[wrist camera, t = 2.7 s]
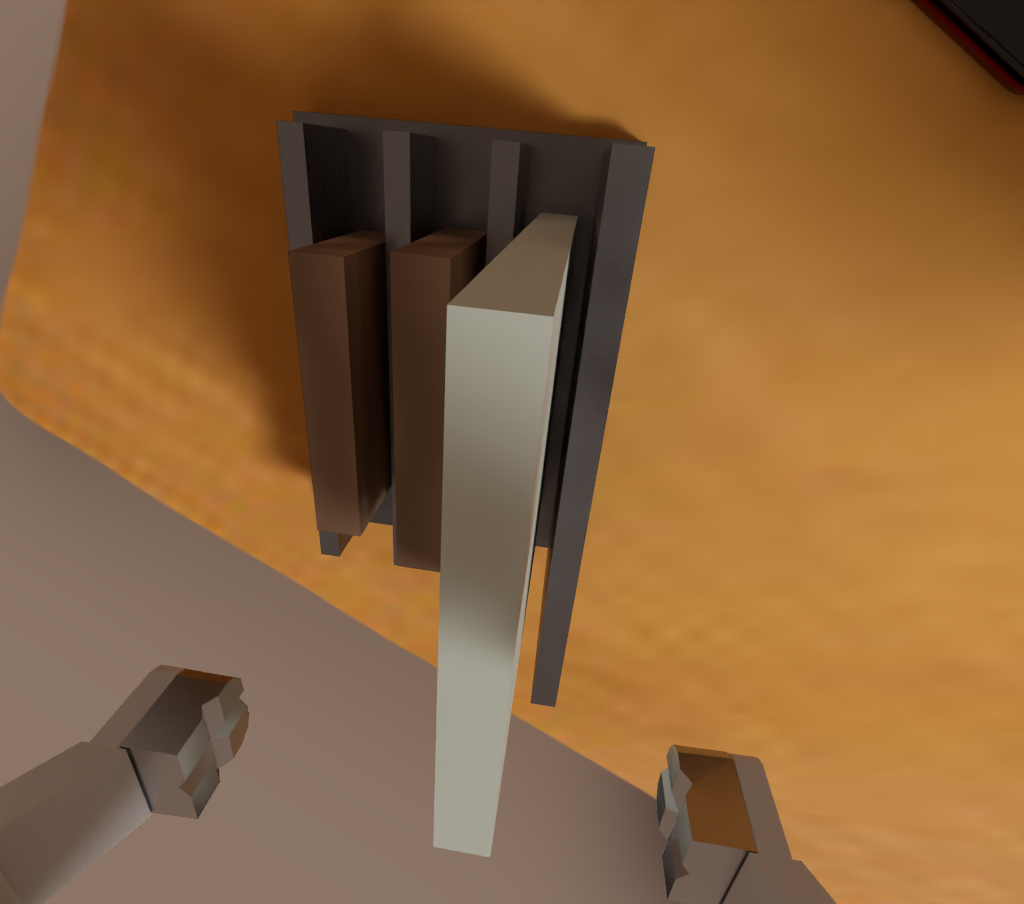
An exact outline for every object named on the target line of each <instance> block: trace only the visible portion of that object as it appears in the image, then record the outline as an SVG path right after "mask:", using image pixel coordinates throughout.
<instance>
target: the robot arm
mask: <svg viewBox="0 0 1024 904" xmlns="http://www.w3.org/2000/svg"><path fill="white" fill-rule="evenodd" d="M243 691H244V689H243V685H242V682H241V678H236V677H231V676H224V675H219V674H213V673H207V672H202V671H196V670H190V669H186V668H179V667H173V666H166V665H160V666H158V667H157V668H155V669H154V670H152V671H151V672H150V673H149V674H148V675H147V676H146V677H145V679H144V680H143V681H142V682H141V683H140V684H139V686H138V687H137V688H136V689H135V690H134V691H133V692H132V694H131V695H130V696H129V697H128V698H127V699H126V701H125V702H124V703H123V704H122V705H121V706H120V708H119V709H118V710H117V711H116V712H115V713H114V715H113V716H112V717H111V718H110V719H109V720H108V721H107V723H106V724H105V725H104V726H103V727H102V729H101V730H100V731H99V732H98V733H97V734H96V736H95V737H94V738H93V739H92V740H91V741H90V742H89V743H88V742H80V743H78V744H76V745H75V746H73V747H71V748H69V749H67V750H66V751H64V752H62V753H60V754H59V755H57V756H55V757H53V758H51V759H50V760H48V761H46V762H45V763H43V764H41V765H39V766H37V767H36V768H34V769H32V770H30V771H28V772H27V773H25V774H23V775H21V776H20V777H18V778H16V779H14V780H13V781H11V782H9V783H7V784H5V785H4V786H2V787H0V904H43V903H45V902H46V901H47V900H48V899H49V898H51V897H52V896H53V895H54V894H56V893H57V892H58V891H59V890H61V889H62V888H63V887H64V886H65V885H67V884H68V883H69V882H70V881H72V880H73V879H74V878H75V877H77V876H78V875H79V874H80V873H81V872H83V871H84V870H85V869H86V868H88V867H89V866H90V865H91V864H92V863H94V862H95V861H96V860H97V859H99V858H100V857H101V856H102V855H104V854H105V853H106V852H107V851H109V850H110V849H111V848H112V847H114V846H115V845H116V844H117V843H118V842H120V841H121V840H122V839H123V838H124V837H126V836H127V835H128V834H130V833H131V832H132V831H133V830H135V829H136V828H137V827H138V826H139V825H141V824H142V823H143V822H144V821H146V820H147V819H148V818H149V817H151V815H152V814H151V812H152V813H159V814H166V815H174V816H180V817H188V818H195V819H198V818H199V816H200V814H201V813H202V811H203V809H204V808H205V806H206V804H207V803H208V801H209V799H210V798H211V796H212V794H213V793H214V791H215V789H216V787H217V786H218V784H219V783H220V777H219V768H220V767H222V766H223V765H225V764H226V763H227V762H229V761H230V760H232V759H233V758H234V757H235V755H236V753H237V752H238V750H239V748H240V746H241V744H242V743H243V740H244V737H245V734H246V731H247V728H248V720H249V712H248V707H247V705H246V704H245V703H244V702H243V701H242V700H241V699H240V698H239V697H240V695H241V694H242V692H243ZM667 762H668V768H667V769H665V770H663V771H662V772H661V775H660V778H659V782H658V789H657V818H658V827H659V829H660V831H661V832H662V834H663V835H664V837H665V838H666V840H667V844H666V846H665V849H664V852H663V854H662V861H663V870H664V878H665V885H666V894H667V900H669V901H674V902H679V903H685V904H837V903H836V902H835V901H834V900H833V898H832V897H831V896H830V895H829V894H828V892H827V891H826V890H825V889H824V888H823V886H822V885H821V884H820V883H819V882H818V880H817V879H816V878H815V877H814V876H813V874H812V873H811V872H810V871H809V870H808V868H807V867H806V866H805V865H804V864H803V862H802V861H798V860H793V859H792V856H791V853H790V850H789V847H788V843H787V840H786V837H785V834H784V831H783V827H782V824H781V821H780V818H779V815H778V811H777V808H776V805H775V802H774V798H773V795H772V792H771V789H770V786H769V782H768V779H767V776H766V773H765V769H764V766H763V764H762V763H761V761H760V760H759V758H756V757H753V756H745V755H737V754H730V753H727V752H723V751H716V750H709V749H702V748H694V747H687V746H680V745H672V746H671V747H670V749H669V751H668V754H667Z"/></svg>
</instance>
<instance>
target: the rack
mask: <svg viewBox="0 0 1024 904" xmlns="http://www.w3.org/2000/svg"><path fill="white" fill-rule="evenodd" d="M293 119H294V122H289V121H278V120H276V123H277V133H278V142H279V152H280V161H281V171H282V181H283V190H284V200H285V209H286V219H287V229H288V238H289V248H290V251H291V250H294V249H298V248H301V247H304V246H308V245H311V244H315V243H318V242H322V241H325V240H329V239H332V238H336V237H339V236H343V235H346V234H350V233H353V232H357V231H360V230H365V231H374V232H384V233H385V237H386V275H387V314H388V353H389V392H390V431H391V469H392V486H391V488H390V489H389V491H388V492H387V494H386V496H385V497H384V499H383V501H382V502H381V504H380V505H379V507H378V509H377V510H376V512H375V513H374V515H373V517H372V518H371V520H370V522H373V523H380V524H387V525H393V547H394V565H397V544H396V499H395V455H394V410H393V366H392V321H391V277H390V252H391V251H394V250H396V249H398V248H400V247H403V246H405V245H407V244H410V243H412V242H414V241H416V240H419V239H421V238H423V237H426V236H428V235H430V234H432V233H435V232H437V231H439V230H442V229H444V228H446V227H449V228H459V229H469V230H478V231H487V246H486V264H485V267H486V266H487V265H488V264H489V263H490V262H491V261H492V260H493V259H494V258H495V257H496V256H497V255H498V254H499V253H501V252H502V251H503V250H504V249H505V248H506V247H507V246H508V245H509V244H510V243H511V242H512V241H513V240H514V239H515V238H516V237H517V236H518V235H519V234H520V233H521V232H522V231H523V230H524V229H525V228H526V227H527V226H528V225H529V224H530V223H531V222H532V221H533V220H534V219H535V218H536V217H537V216H538V215H539V214H540V213H541V212H542V213H552V214H562V215H572V216H578V219H577V227H576V235H575V243H574V251H573V259H572V267H571V274H570V282H569V290H568V298H567V306H566V314H565V322H564V329H563V337H562V345H561V353H560V361H559V369H558V377H557V384H556V392H555V400H554V408H553V416H552V424H551V431H550V439H549V447H548V455H547V463H546V471H545V479H544V486H543V494H542V502H541V509H540V516H539V523H538V530H537V537H536V544H535V546H540V547H547V548H548V551H547V560H546V569H545V578H544V588H543V597H542V606H541V615H540V624H539V633H538V642H537V651H536V660H535V669H534V678H533V687H532V696H531V703H534V704H540V705H546V706H552V707H555V704H556V699H557V693H558V688H559V682H560V676H561V671H562V665H563V660H564V654H565V648H566V643H567V637H568V632H569V626H570V621H571V615H572V609H573V604H574V598H575V593H576V587H577V581H578V576H579V570H580V565H581V559H582V553H583V548H584V542H585V537H586V531H587V525H588V520H589V514H590V509H591V503H592V497H593V492H594V486H595V481H596V475H597V470H598V464H599V458H600V453H601V447H602V442H603V436H604V430H605V425H606V419H607V414H608V408H609V402H610V397H611V391H612V386H613V380H614V374H615V369H616V363H617V358H618V352H619V346H620V341H621V335H622V330H623V324H624V319H625V313H626V307H627V302H628V296H629V291H630V285H631V279H632V274H633V268H634V263H635V257H636V251H637V246H638V240H639V235H640V229H641V223H642V218H643V212H644V207H645V201H646V195H647V190H648V184H649V179H650V173H651V167H652V162H653V156H654V151H655V147H649V146H646V145H647V142H640V141H629V140H617V139H606V138H595V137H583V136H572V135H561V134H550V133H538V132H527V131H516V130H504V129H493V128H482V127H471V126H459V125H448V124H437V123H425V122H414V121H403V120H392V119H380V118H369V117H358V116H347V115H335V114H324V113H313V112H301V111H293ZM319 536H320V545H321V554H325V555H332V556H340V555H341V553H342V552H343V550H344V549H345V547H346V546H347V544H348V542H349V541H350V539H351V538H352V536H353V535H348V534H341V533H334V532H327V531H321V530H319Z"/></svg>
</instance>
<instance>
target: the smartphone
mask: <svg viewBox="0 0 1024 904" xmlns="http://www.w3.org/2000/svg"><path fill="white" fill-rule="evenodd" d="M911 1H912V2H913V3H915V4H916V5H917V6H918V7H919V8H920V9H921V10H922V11H923V12H924V13H925V14H926V15H927V16H929V17H930V18H931V19H932V20H933V21H934V22H935V23H936V24H937V25H938V26H939V27H940V28H941V29H943V30H944V31H945V32H946V33H947V34H948V35H949V36H950V37H951V38H952V39H953V40H954V41H955V42H957V43H958V44H959V45H960V46H961V47H962V48H963V49H964V50H965V51H966V52H967V53H968V54H969V55H971V56H972V57H973V58H974V59H975V60H976V61H977V62H978V63H979V64H980V65H981V66H982V67H983V68H985V69H986V70H987V71H988V72H989V73H990V74H991V75H992V76H993V77H994V78H995V79H996V80H997V81H998V82H1000V83H1001V84H1002V85H1003V86H1004V87H1005V88H1006V89H1008V90H1009V91H1010V92H1012V93H1014V94H1017V95H1022V96H1024V0H911Z"/></svg>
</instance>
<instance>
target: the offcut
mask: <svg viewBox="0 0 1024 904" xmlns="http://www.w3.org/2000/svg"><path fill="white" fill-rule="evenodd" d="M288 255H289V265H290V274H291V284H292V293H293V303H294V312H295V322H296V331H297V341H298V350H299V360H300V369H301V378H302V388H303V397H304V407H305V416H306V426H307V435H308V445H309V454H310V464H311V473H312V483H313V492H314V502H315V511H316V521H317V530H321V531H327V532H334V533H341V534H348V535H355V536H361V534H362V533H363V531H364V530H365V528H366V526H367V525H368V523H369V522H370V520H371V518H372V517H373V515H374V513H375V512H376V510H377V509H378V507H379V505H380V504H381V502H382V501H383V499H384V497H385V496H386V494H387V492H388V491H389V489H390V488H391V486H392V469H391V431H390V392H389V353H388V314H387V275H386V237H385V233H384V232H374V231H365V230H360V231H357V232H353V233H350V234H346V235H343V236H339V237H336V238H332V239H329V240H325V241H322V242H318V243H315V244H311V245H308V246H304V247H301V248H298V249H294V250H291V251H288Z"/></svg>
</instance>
